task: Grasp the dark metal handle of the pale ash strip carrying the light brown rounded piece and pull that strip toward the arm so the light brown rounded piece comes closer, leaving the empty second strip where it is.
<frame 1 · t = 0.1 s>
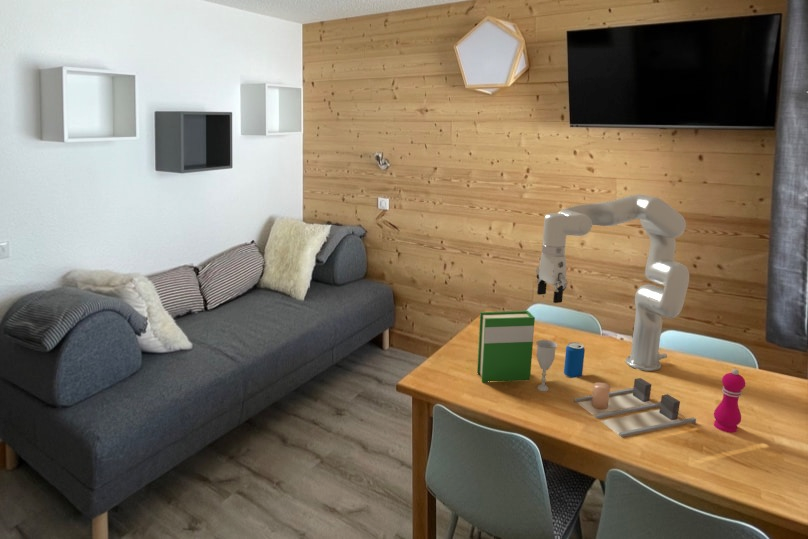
hand: (549, 298, 192), 31 cm above the table, tool pointing down, fingers open, 9 cm apart
beverage can: (572, 376, 204), on the table
pepper mill: (724, 430, 169), on the table
strip a: (615, 395, 181), point 4 cm above the table, slide at 0.0 cm, touching light brown rounded piece
chalice: (542, 392, 191), on the table
strip b: (642, 413, 170), point 4 cm above the table, slide at 0.0 cm
track board: (632, 414, 177), on the table
light brown rounded piece: (599, 405, 179), point 1 cm above the table, touching strip a
hardback book: (503, 377, 202), on the table
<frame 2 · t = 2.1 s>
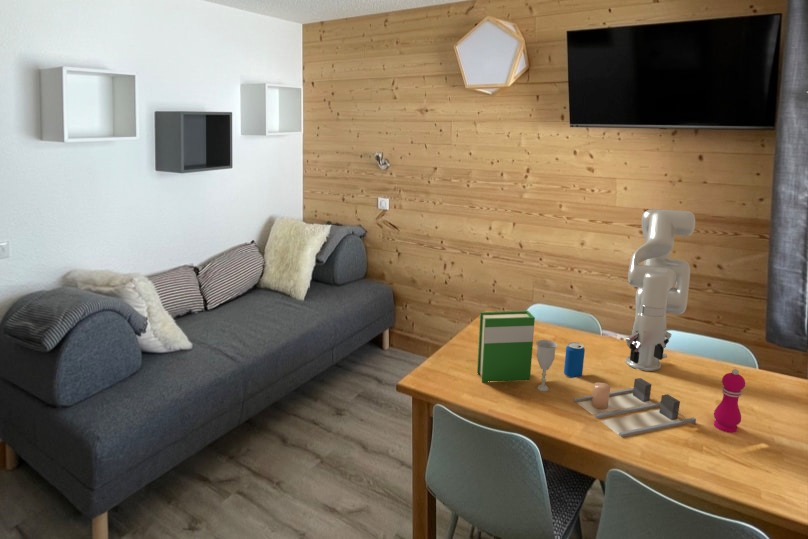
hand: (645, 359, 181), 15 cm above the table, tool pointing down, fingers open, 9 cm apart
nothing on the table moved.
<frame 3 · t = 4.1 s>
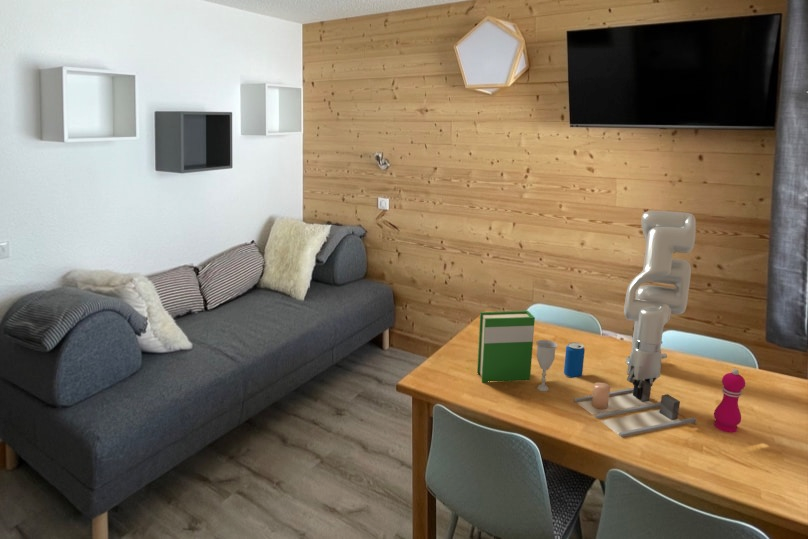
hand: (641, 396, 185), 2 cm above the table, tool pointing down, fingers closed on strip a, 2 cm apart
strip a: (615, 395, 181), point 4 cm above the table, slide at 0.0 cm, touching light brown rounded piece, gripper
everything else where it was.
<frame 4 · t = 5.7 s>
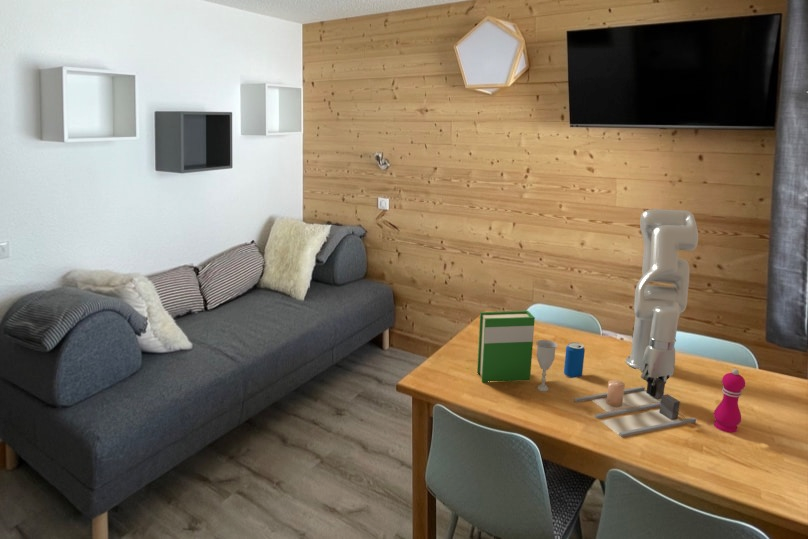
hand: (654, 393, 186), 2 cm above the table, tool pointing down, fingers closed on strip a, 2 cm apart
strip a: (630, 392, 182), point 4 cm above the table, slide at 5.7 cm, touching light brown rounded piece, gripper
light brown rounded piece: (614, 403, 181), point 1 cm above the table, touching strip a
everything else where it was.
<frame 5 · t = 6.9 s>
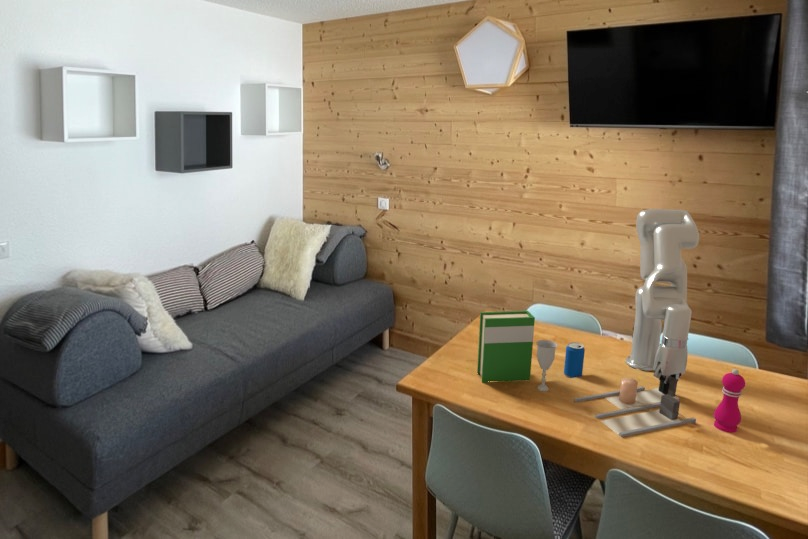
hand: (666, 391, 188), 2 cm above the table, tool pointing down, fingers closed on strip a, 2 cm apart
strip a: (642, 390, 184), point 4 cm above the table, slide at 10.9 cm, touching light brown rounded piece, gripper
light brown rounded piece: (627, 400, 183), point 1 cm above the table, touching strip a
everything else where it was.
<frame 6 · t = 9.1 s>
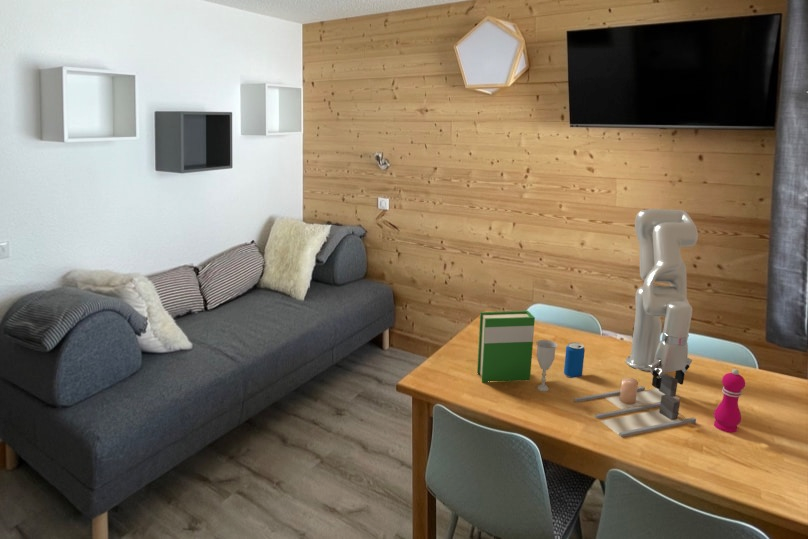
hand: (667, 384, 188), 4 cm above the table, tool pointing down, fingers open, 9 cm apart
strip a: (643, 390, 184), point 4 cm above the table, slide at 11.0 cm, touching light brown rounded piece
everything else where it was.
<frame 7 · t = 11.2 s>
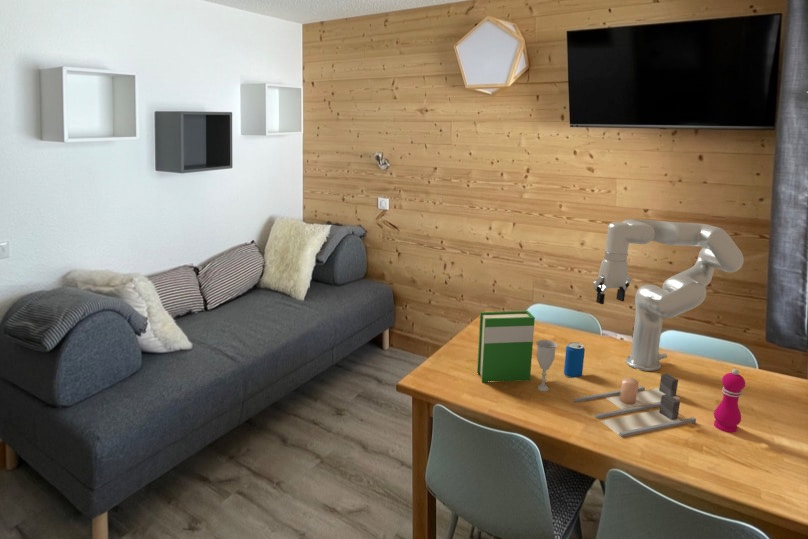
hand: (610, 301, 204), 26 cm above the table, tool pointing down, fingers open, 9 cm apart
nothing on the table moved.
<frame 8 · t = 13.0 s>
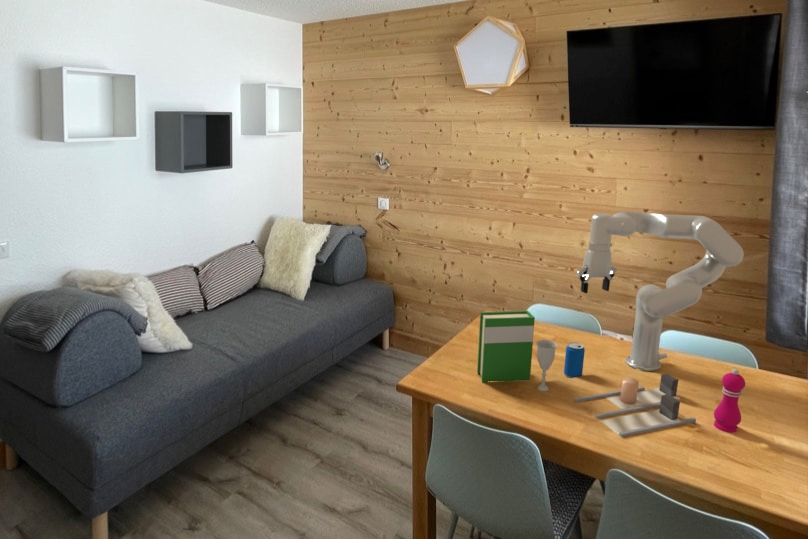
hand: (594, 291, 210), 28 cm above the table, tool pointing down, fingers open, 9 cm apart
nothing on the table moved.
at the end: strip a slide at 11.3 cm; light brown rounded piece inside the target area (0.8 cm from its centre), point 1.4 cm above the table; light brown rounded piece tilted 0° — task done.
